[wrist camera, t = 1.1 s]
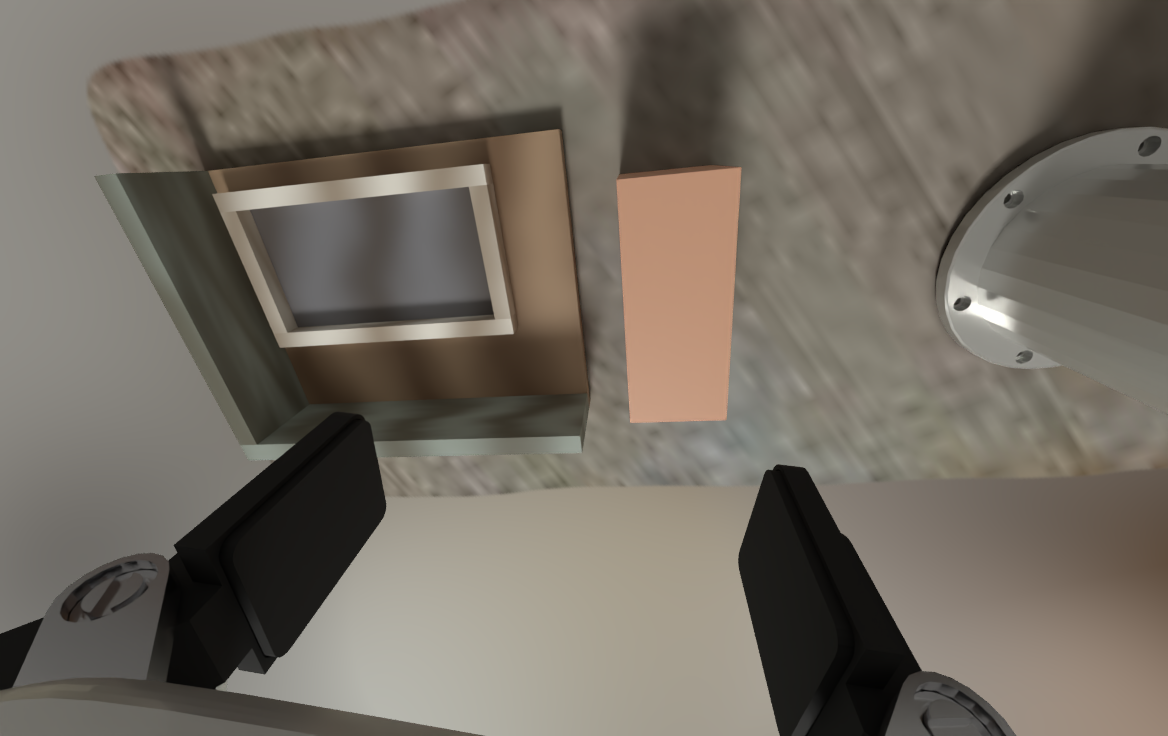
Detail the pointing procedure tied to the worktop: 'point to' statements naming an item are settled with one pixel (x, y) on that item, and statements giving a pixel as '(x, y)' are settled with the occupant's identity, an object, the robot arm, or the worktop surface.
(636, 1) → the worktop surface
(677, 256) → the block
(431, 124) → the worktop surface
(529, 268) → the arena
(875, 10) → the worktop surface
